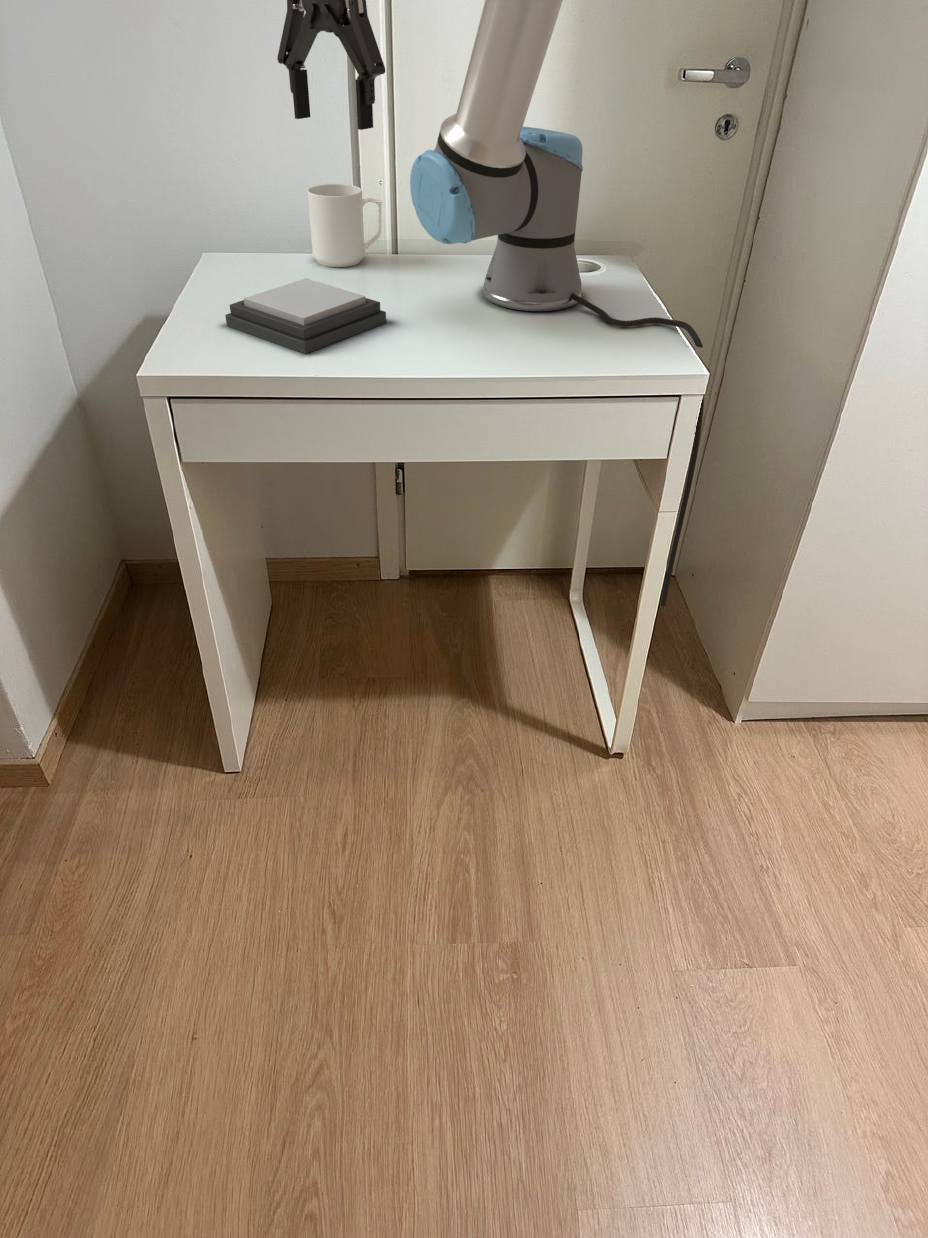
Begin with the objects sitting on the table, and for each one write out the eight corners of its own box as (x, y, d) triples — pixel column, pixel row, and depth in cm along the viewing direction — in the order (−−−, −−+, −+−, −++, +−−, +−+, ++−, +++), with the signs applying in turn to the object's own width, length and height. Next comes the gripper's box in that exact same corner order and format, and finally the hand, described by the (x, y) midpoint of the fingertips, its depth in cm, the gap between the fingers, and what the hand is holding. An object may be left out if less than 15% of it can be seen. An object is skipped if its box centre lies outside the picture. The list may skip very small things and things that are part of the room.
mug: (312, 268, 146) (306, 196, 139) (313, 253, 153) (308, 183, 146) (384, 268, 147) (382, 196, 140) (382, 252, 154) (380, 183, 147)
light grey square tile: (366, 305, 125) (365, 295, 124) (304, 327, 118) (303, 317, 117) (306, 287, 131) (306, 277, 130) (244, 307, 123) (243, 297, 122)
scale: (386, 322, 127) (385, 301, 125) (305, 354, 117) (303, 331, 115) (308, 298, 135) (306, 277, 133) (226, 325, 125) (223, 304, 123)
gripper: (407, -45, 121) (409, 129, 134) (281, -50, 133) (295, 110, 146) (370, -45, 116) (376, 136, 129) (243, -51, 128) (260, 116, 141)
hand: (333, 123), depth 138 cm, fingers open, 13 cm apart
